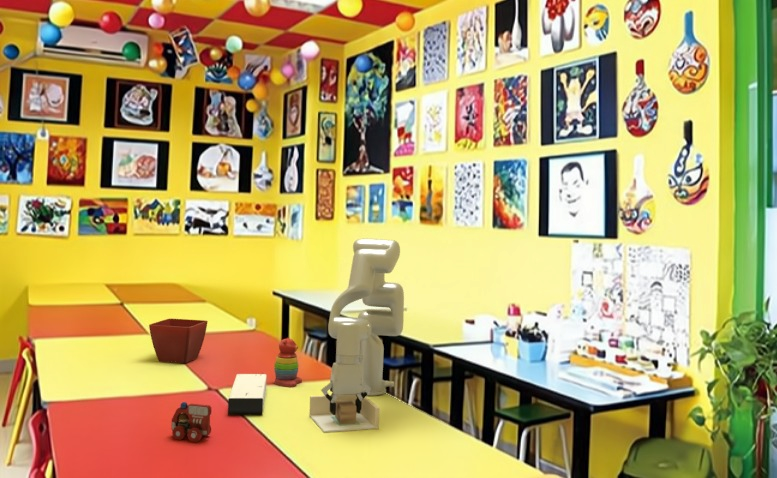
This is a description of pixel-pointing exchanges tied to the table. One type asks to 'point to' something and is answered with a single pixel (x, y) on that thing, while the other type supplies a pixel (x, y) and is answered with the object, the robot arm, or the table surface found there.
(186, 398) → the table surface
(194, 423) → the toy fire truck
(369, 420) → the arena
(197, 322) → the plant pot
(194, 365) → the table surface
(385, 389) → the robot arm
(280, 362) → the stacking bear
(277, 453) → the table surface
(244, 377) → the laminator
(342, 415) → the block
